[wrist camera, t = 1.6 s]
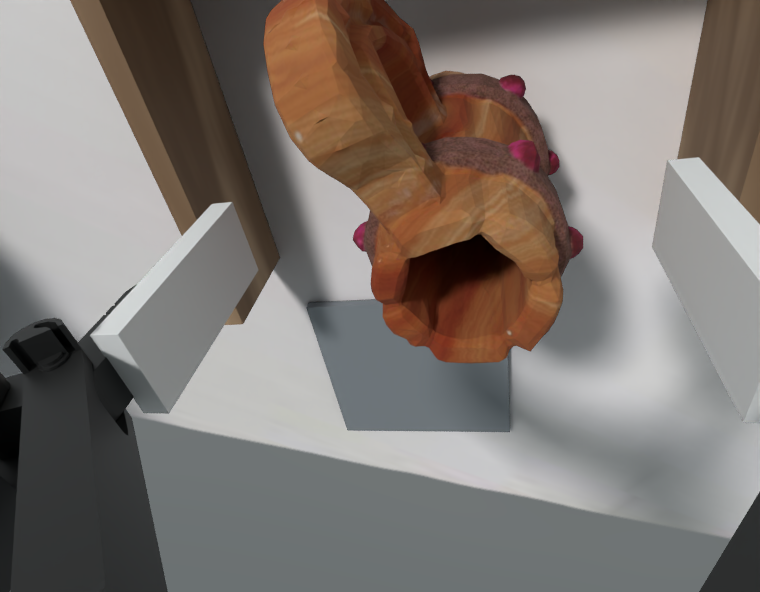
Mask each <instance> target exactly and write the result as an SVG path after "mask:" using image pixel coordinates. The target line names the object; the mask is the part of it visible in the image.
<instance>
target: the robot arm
mask: <svg viewBox="0 0 760 592" xmlns="http://www.w3.org/2000/svg"><path fill="white" fill-rule="evenodd" d="M652 248H653V250H654V251H655V253H656V255H657V257H658V259H659V261H660V263H661V265H662V267H663V269H664V271H665V273H666V275H667V277H668V278H669V280H670V282H671V284H672V286H673V288H674V290H675V292H676V294H677V296H678V298H679V300H680V302H681V304H682V306H683V307H684V309H685V311H686V313H687V315H688V317H689V319H690V321H691V323H692V325H693V327H694V329H695V331H696V333H697V334H698V336H699V338H700V340H701V342H702V344H703V346H704V348H705V350H706V352H707V354H708V356H709V358H710V360H711V361H712V363H713V365H714V367H715V369H716V371H717V373H718V375H719V377H720V379H721V381H722V383H723V385H724V387H725V388H726V390H727V392H728V394H729V396H730V398H731V400H732V402H733V404H734V406H735V408H736V410H737V412H738V414H739V415H740V417H741V419H742V421H743V423H760V224H759V223H758V222H757V221H756V220H755V219H754V218H753V217H752V215H751V214H750V213H749V212H748V211H747V210H746V209H745V208H744V207H743V205H742V204H741V203H740V202H739V201H738V200H737V199H736V198H735V197H734V196H733V194H732V193H731V192H730V191H729V190H728V189H727V188H726V187H725V186H724V184H723V183H722V182H721V181H720V180H719V179H718V178H717V177H716V176H715V174H714V173H713V172H712V171H711V170H710V169H709V168H708V167H707V166H706V165H705V163H704V162H703V161H702V160H701V159H700V158H699V157H697V158H686V159H676V160H667V165H666V171H665V176H664V182H663V188H662V193H661V199H660V205H659V210H658V216H657V221H656V227H655V233H654V238H653V244H652ZM257 272H258V267H257V265H256V262H255V259H254V257H253V254H252V252H251V249H250V246H249V244H248V241H247V239H246V236H245V233H244V231H243V228H242V226H241V223H240V220H239V218H238V215H237V213H236V210H235V207H234V205H233V202H226V203H216V204H211V205H210V207H209V208H208V209H207V210H206V211H205V212H204V213H203V214H202V215H201V216H200V217H199V218H198V219H197V221H196V222H195V223H194V224H193V225H192V226H191V227H190V228H189V229H188V230H187V231H186V232H185V233H184V235H183V236H182V237H181V238H180V239H179V240H178V241H177V242H176V243H175V244H174V245H173V246H172V247H171V249H170V250H169V251H168V252H167V253H166V254H165V255H164V256H163V257H162V258H161V259H160V260H159V261H158V263H157V264H156V265H155V266H154V267H153V268H152V269H151V270H150V271H149V272H148V273H147V274H146V275H145V277H144V278H143V279H142V280H141V281H140V282H139V283H138V284H136V285H135V286H134V287H132V288H131V289H129V290H128V291H126V292H125V293H124V294H123V295H122V296H121V297H120V298H119V300H118V301H117V302H116V303H115V306H112V307H111V308H110V309H109V310H108V311H107V312H106V315H103V317H102V318H101V319H100V320H99V321H98V322H97V323H96V324H95V325H94V326H93V327H92V328H91V329H90V330H89V331H88V332H87V334H86V335H85V336H84V337H83V338H82V339H81V340H80V341H79V342H78V343H77V341H76V340H75V338H74V337H73V336H72V334H71V333H70V331H69V330H68V329H67V327H66V326H65V325H64V323H63V322H62V320H60V319H56V318H52V319H44V320H41V321H38V322H35V323H33V324H31V325H29V326H27V327H25V328H23V329H21V330H20V331H18V332H17V333H16V334H14V335H13V336H12V337H11V338H10V339H9V340H8V341H7V342H6V343H5V345H4V347H3V350H4V352H5V353H6V354H7V355H8V356H9V357H10V359H11V360H12V361H13V362H14V363H15V364H16V366H17V367H18V368H19V369H20V370H21V371H22V373H23V374H19V375H15V376H11V377H7V378H5V377H4V376H3V375H2V374H1V373H0V592H168V591H167V586H166V582H165V576H164V571H163V567H162V562H161V557H160V552H159V547H158V542H157V538H156V533H155V529H154V523H153V518H152V514H151V509H150V504H149V499H148V494H147V489H146V484H145V480H144V475H143V470H142V465H141V460H140V455H139V451H138V446H137V441H136V436H135V431H134V427H133V421H132V418H131V416H130V415H129V413H128V412H127V410H126V409H125V408H126V407H127V406H128V404H129V403H130V401H131V400H132V399H133V398H134V400H135V401H136V403H137V404H138V405H139V407H140V408H141V410H142V411H143V413H170V411H171V409H172V408H173V406H174V405H175V403H176V401H177V400H178V398H179V397H180V395H181V393H182V392H183V390H184V389H185V387H186V385H187V384H188V382H189V381H190V379H191V377H192V376H193V374H194V373H195V371H196V369H197V368H198V366H199V365H200V363H201V361H202V360H203V358H204V357H205V355H206V353H207V352H208V350H209V349H210V347H211V345H212V344H213V342H214V341H215V339H216V337H217V336H218V334H219V333H220V331H221V329H222V328H223V326H224V325H225V323H226V321H227V320H228V318H229V317H230V315H231V313H232V312H233V310H234V309H235V307H236V305H237V304H238V302H239V301H240V299H241V297H242V296H243V294H244V293H245V291H246V289H247V288H248V286H249V285H250V283H251V281H252V280H253V278H254V277H255V275H256V273H257ZM699 592H760V492H759V494H758V496H757V497H756V499H755V501H754V502H753V504H752V505H751V507H750V509H749V510H748V512H747V514H746V515H745V517H744V519H743V520H742V522H741V524H740V525H739V527H738V529H737V530H736V532H735V534H734V535H733V537H732V538H731V540H730V542H729V544H728V545H727V547H726V548H725V550H724V552H723V553H722V555H721V557H720V558H719V560H718V562H717V563H716V565H715V567H714V568H713V570H712V572H711V573H710V575H709V577H708V578H707V580H706V581H705V583H704V585H703V586H702V588H701V590H700V591H699Z"/></svg>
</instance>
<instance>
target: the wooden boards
mask: <svg viewBox="0 0 760 592" xmlns="http://www.w3.org/2000/svg"><path fill="white" fill-rule="evenodd" d="M70 1H71V3H72V5H73V7H74V9H75V11H76V13H77V16H78V18H79V20H80V22H81V24H82V26H83V28H84V30H85V32H86V35H87V37H88V39H89V41H90V43H91V45H92V47H93V49H94V51H95V54H96V56H97V58H98V60H99V62H100V64H101V66H102V68H103V70H104V73H105V75H106V77H107V79H108V81H109V83H110V85H111V87H112V89H113V92H114V94H115V96H116V98H117V100H118V102H119V104H120V106H121V108H122V110H123V113H124V115H125V117H126V119H127V121H128V123H129V125H130V127H131V129H132V132H133V134H134V136H135V138H136V140H137V142H138V144H139V146H140V148H141V151H142V153H143V155H144V157H145V159H146V161H147V163H148V165H149V167H150V170H151V172H152V174H153V176H154V178H155V180H156V182H157V184H158V186H159V189H160V191H161V193H162V195H163V197H164V199H165V201H166V203H167V205H168V207H169V210H170V212H171V214H172V216H173V218H174V220H175V222H176V224H177V226H178V229H179V231H180V233H181V235H182V236H183V235H184V233H185V232H186V231H187V230H188V229H189V228H190V227H191V226H192V225H193V224H194V223H195V222H196V221H197V219H198V218H199V217H200V216H201V215H202V214H203V213H204V212H205V211H206V210H207V209H208V208H209V207H210V205H211V204H216V203H226V202H233V205H234V207H235V210H236V213H237V215H238V218H239V220H240V223H241V226H242V228H243V231H244V233H245V236H246V239H247V241H248V244H249V246H250V249H251V252H252V254H253V257H254V259H255V262H256V265H257V267H258V272H257V273H256V275H255V277H254V278H253V280H252V281H251V283H250V285H249V286H248V288H247V289H246V291H245V293H244V294H243V296H242V297H241V299H240V301H239V302H238V304H237V305H236V307H235V309H234V310H233V312H232V313H231V315H230V317H229V318H228V320H227V321H226V323H225V325H234V324H243V323H244V321H245V320H246V318H247V316H248V314H249V312H250V311H251V309H252V307H253V305H254V303H255V302H256V300H257V298H258V296H259V295H260V293H261V291H262V289H263V287H264V286H265V284H266V282H267V280H268V278H269V277H270V275H271V273H272V271H273V269H274V268H275V266H276V264H277V262H278V260H279V259H280V257H279V254H278V251H277V248H276V245H275V242H274V239H273V236H272V234H271V231H270V228H269V225H268V222H267V219H266V216H265V214H264V211H263V208H262V205H261V202H260V199H259V196H258V194H257V191H256V188H255V185H254V182H253V179H252V176H251V173H250V171H249V168H248V165H247V162H246V159H245V156H244V153H243V151H242V148H241V145H240V142H239V139H238V136H237V133H236V131H235V128H234V125H233V122H232V119H231V116H230V113H229V110H228V108H227V105H226V102H225V99H224V96H223V93H222V90H221V88H220V85H219V82H218V79H217V76H216V73H215V70H214V68H213V65H212V62H211V59H210V56H209V53H208V50H207V48H206V45H205V42H204V39H203V36H202V33H201V30H200V27H199V25H198V22H197V19H196V16H195V13H194V10H193V7H192V5H191V2H190V0H70ZM697 157H699V158H700V159H701V160H702V161H703V162H704V163H705V165H706V166H707V167H708V168H709V169H710V170H711V171H712V172H713V173H714V174H715V176H716V177H717V178H718V179H719V180H720V181H721V182H722V183H723V184H724V186H725V187H726V188H727V189H728V190H729V191H730V192H731V193H732V194H733V196H734V197H735V198H736V199H737V200H738V201H739V202H740V203H741V204H742V205H743V207H744V208H745V209H746V210H747V211H748V212H749V213H750V214H751V215H752V217H753V218H754V219H755V220H756V221H757V222H758V223H759V224H760V0H708V1H707V7H706V12H705V17H704V22H703V28H702V33H701V38H700V43H699V49H698V54H697V59H696V64H695V70H694V75H693V80H692V85H691V91H690V96H689V101H688V106H687V112H686V117H685V122H684V127H683V133H682V138H681V143H680V148H679V154H678V159H686V158H697Z"/></svg>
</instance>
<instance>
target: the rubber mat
mask: <svg viewBox="0 0 760 592" xmlns="http://www.w3.org/2000/svg"><path fill="white" fill-rule="evenodd" d="M307 311H308V314H309V317H310V320H311V323H312V326H313V329H314V332H315V335H316V338H317V341H318V344H319V347H320V350H321V353H322V356H323V359H324V362H325V364H326V367H327V370H328V373H329V376H330V379H331V382H332V385H333V388H334V391H335V394H336V397H337V400H338V403H339V406H340V409H341V412H342V415H343V418H344V421H345V424H346V427H347V430H362V431H460V432H510V412H509V377H508V355H507V358H505V359H504V360H502V361H500V362H492V363H473V364H471V363H449V362H443V361H441V360H438V359H437V358H436V357H435V356H434V354H433V353H432V351H431V350H430V349H429V348H428V347H426V346H419V347H414V346H412V345H410V344H409V342H408V341H407V339H404V338H402V337H400V336H398V335H395V334H393V332H392V331H391V330H390V329H389V328H388V326H387V325H386V323H385V321H384V319H383V303H381V302H379V301H377V300H376V299H372V300H353V301H333V302H313V303H308V305H307Z"/></svg>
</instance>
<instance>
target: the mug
mask: <svg viewBox="0 0 760 592" xmlns="http://www.w3.org/2000/svg"><path fill="white" fill-rule="evenodd" d="M263 44H264V51H265V58H266V64H267V71H268V76H269V80H270V85H271V90H272V94H273V99H274V103H275V106H276V109H277V111H278V113H279V115H280V117H281V119H282V121H283V123H284V125H285V128H286V130H287V132H288V134H289V136H290V138H291V140H292V141H293V142H294V143H295V145H296V146H297V147H298V148H299V150H300V151H301V152H302V153H303V155H304V156H305V157H306V158H307V160H308V161H309V162H311V163H312V164H313V165H314V166H316V167H317V168H318V169H320V170H321V171H323V172H324V173H326V174H328V175H329V176H331V177H332V178H334V179H336V180H338V181H339V182H341V183H342V184H344V185H345V186H347V187H349V188H350V189H351V190H352V191H353V192H354V193H355V194H356V195H357V196H358V197H359V198H360V199H361V200H362V201H363V202H364V203H365V204H366V205H367V207H368V208H369V209H370V214H369V219H368V221H366V222H364V223H362V224H360V226H359V227H358V228H357V229H356V230H355V233H354V235H353V241H354V242H355V244H356V245H357V246H358V247H359V248H360V249H361V250H362V251H366V252H367V254H368V257H369V260H370V262H371V265H372V274H371V289H372V292H373V294H374V297H375V299H376V300H377V301H379V302H381V303H383V319H384V321H385V323H386V325H387V326H388V328H389V329H390V330H391V331H392V332H393V334H395V335H398V336H400V337H402V338H404V339H407V341H408V342H409V344H410V345H412V346H414V347H419V346H426V347H428V348H429V349H430V350H431V351H432V353H433V354H434V356H435V357H436V358H437V359H438V360H441V361H443V362H449V363H471V364H473V363H492V362H500V361H502V360H504V359H505V358H507V355H508V353H509V350H510V349H511V348H512V347H513V346H516V345H517V346H519V347H521V348H523V349H526V350H528V351H531V350H532V349H533V347H534V346H535V345H536V344H537V343H538V341H539V340H540V339H541V338H542V337H543V336H544V335H545V334H546V333H547V332H548V331H549V329H550V328H551V326H552V325H553V323H554V321H555V319H556V317H557V315H558V313H559V310H560V307H561V304H562V301H563V287H562V282H561V276H562V274H563V272H564V270H565V268H566V266H567V264H568V262H569V260H570V259H571V258H573V257H575V256H576V255H578V254H579V253H580V251H581V250H582V249H583V236H582V235H581V234H580V232H579V231H578V230H576V229H575V228H573V227H569V226H568V224H567V221H566V218H565V215H564V212H563V209H562V206H561V203H560V200H559V197H558V194H557V191H556V189H555V188H554V186H553V184H552V183H551V181H550V179H549V178H548V175H551V174H553V173H555V172H556V171H557V169H558V168H559V159H558V156H557V155H556V154H555V153H554V152H553V151H550V150H548V147H547V144H546V140H545V137H544V134H543V131H542V127H541V125H540V123H539V120H538V117H537V115H536V114H535V112H534V111H533V109H532V108H531V106H530V104H529V103H528V101H527V100H526V99H525V98H524V97H523V96H524V94H525V90H526V87H525V83H524V80H523V79H522V78H521V77H520V76H516V75H509V76H505V77H502V78H501V79H500V80H498V79H496V78H493V77H490V76H487V75H484V74H464V73H461V72H453V71H444V72H441V73H438V74H435V75H432V76H430V77H429V76H428V73H427V71H426V68H425V64H424V60H423V57H422V53H421V49H420V45H419V42H418V39H417V37H416V34H415V31H414V29H413V28H412V27H411V26H409V25H408V24H407V23H406V22H404V21H403V20H402V19H401V18H399V16H398V15H397V14H396V13H395V12H394V11H393V10H392V8H391V7H390V6H389V5H388V4H387V3H386V2H385V1H384V0H282V1H281V2H280V3H279V4H277V5H276V6H275V7H274V8H273V9H272V10H271V11H270V13H269V15H268V16H267V18H266V25H265V34H264V43H263Z"/></svg>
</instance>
